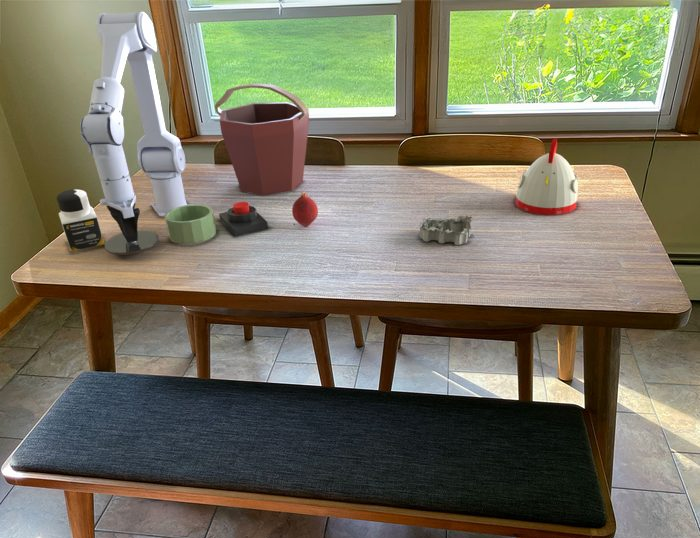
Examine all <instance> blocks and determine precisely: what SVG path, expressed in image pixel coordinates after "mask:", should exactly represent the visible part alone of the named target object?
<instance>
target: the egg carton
mask: <svg viewBox="0 0 700 538" xmlns="http://www.w3.org/2000/svg"><path fill="white" fill-rule="evenodd" d="M472 221H473V217H472V216H468V215H461V216H459V215H458V216H457V218H454V217H450V218H443V217H441V218H436V219H435V218H432V219H431V217H425V218H423V220H422V221H420V224H418V226H419V238H420V239H422V240H423V242H426V243H427V242H430V241H437V242H438V244H445V243H454V245H455V246H460V245H463V244H467V242H468V238H470V236H471V231H472V226H471V223H472Z"/></svg>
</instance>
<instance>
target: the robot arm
mask: <svg viewBox="0 0 700 538" xmlns="http://www.w3.org/2000/svg"><path fill="white" fill-rule="evenodd" d="M95 23H96V24H95V25H96V26H95V27H96V32H97V36H98V39H99V42H100V44H101V46H102V55H101V70H100V77H99V78H97V79H95V80H94V81H93V85H92V90H91V95H90V101H89V107H88V113H86V114H85V115H84V116H83V117H82V118H81V119H80V127H79V128H80V137H81V139H82V141H83V142H84V144H85V145H86V146H87V149H88V153H89V154H90V155H91V156H93V159H94V163H95V167H96V170H97V173H98V177H99V181H100V184H101V188H102V192H103V196H104V198H101V199H99V203H100V205H101V206H106V208H107V210H108V211H109V214H110V216H111V218H112V219H113V220H114V221H115V222H116V223H117V224H118V227H119V229H120V231H121V234H122V233H123V235H124V237H125V239H126V241H127V242H128V243H130V242H135V241H138V231H139V230H138V222H139V217H140V215H141V209H140V208H139V207H136V200H137V195H136V193H135V192H134V191H135V190H134V187H133V183H132V180H131V175H130V172H129V168H128V164H127V163H128V162H127V159H126V156H125V151H124V148H123V141H124V139H125V125H124V117H123V115H122V111H123V105H124V99H125V88H124V87H123V85H122V84H121V81H122V78H123V73H124V70H125V67H126V62H127V61H128V64H129V67H130V72H131V78H132V81H133V86H134V91H135V95H136V101H137V105H138V106H137V107H138V110H139V115H140V120H141V124H142V129H143V132H144V133H143V134H144V135H142V136H141V137H140V139H139V140H138V141H137V143H136V151H137V165H138V167H139V169H140V170H141V172H142V173H143V174H145V175H146V178H149V179H150V180H149V181H150V186H151V191H152V196H153V199H154V203H151V207H152V208H153V210H154V211H155V212H156V213H157V214H158V216H160V217H163V216H165V214H166V213H167V212H168V211H170V210H171V209H174V208H177V207H180V206H185V205H189V204H188V203H187V200H186V195H185V190H184V185H183V180H182V173H184V170H185V169H186V155H185V152H184V150H183V146H182V142H181V141H180V138H179V137H177V136H176V135H174V134H172V133H170V132H169V131H168V130H167V129H166V124H165V123H166V122H165V118H164V113H163V109H162V104H161V103H162V102H161V98H160V93H159V88H158V87H159V86H158V82H157V77H156V71H155V66H154V61H153V54H156V53H157V51H158V48H157V42H156V41H157V39H156V35H155V30H154V24H153V22H152V20H151V19H150V17H149V16H148V14H147V13H146V12H145V11H138V12H116V13H115V12H111V13H105V12H101V13H99V14H98V16H97V18H96V21H95Z"/></svg>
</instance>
